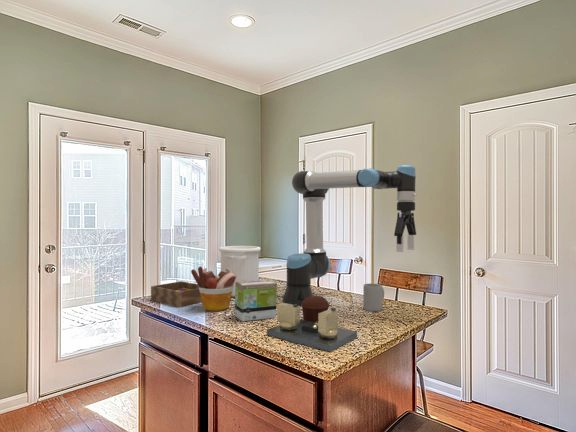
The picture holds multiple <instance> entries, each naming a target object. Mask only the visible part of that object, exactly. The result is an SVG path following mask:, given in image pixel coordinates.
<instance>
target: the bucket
mask: <svg viewBox="0 0 576 432" xmlns="http://www.w3.org/2000/svg"><path fill="white" fill-rule="evenodd" d="M261 250H262V249H261V247H260V246H254V245H230V246H229V245H227V246H219V247H218V251H219V253H220V272H221V271H222V272H226V268H229V269H230V271H232V272H233V274H235V275H236V279H235V282H234V284H233V285H234V288H233V291H232V296H231V298H235V286H236V282H238V281H254V280H260V279H259V278H260V277H259V262H260V261H259V260H260V259H259V255H260V253H259V252H261ZM226 273H227V272H226Z"/></svg>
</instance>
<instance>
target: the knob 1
mask: <svg viewBox="0 0 576 432" xmlns="http://www.w3.org/2000/svg"><path fill="white" fill-rule="evenodd" d="M276 318H277V319H276V320H277V322H279V325H280V328H281V329H284V330H293V329H296V328H297V324H298V323H300V319H301V306H298V305H297V304H294V305H292V304H286V303H283V302H280V303H277V304H276Z"/></svg>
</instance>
